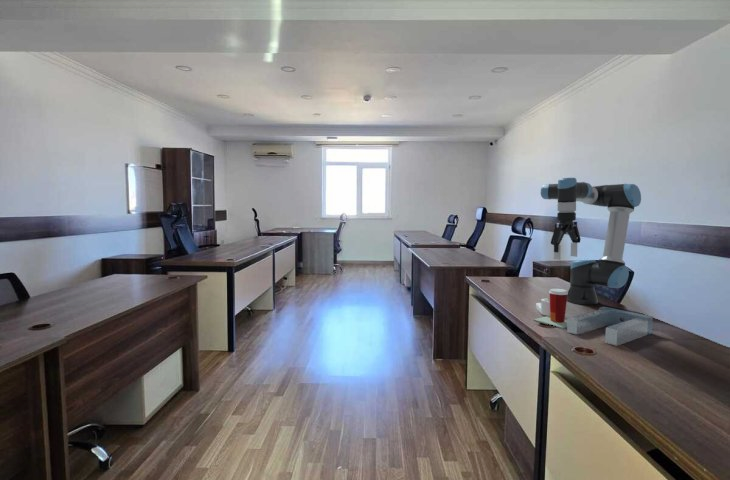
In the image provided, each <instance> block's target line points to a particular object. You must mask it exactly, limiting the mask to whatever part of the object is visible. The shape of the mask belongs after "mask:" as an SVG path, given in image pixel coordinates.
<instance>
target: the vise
mask: <svg viewBox="0 0 730 480" xmlns="http://www.w3.org/2000/svg"><path fill="white" fill-rule="evenodd" d="M566 319H567V328H566V333H569V334H573V335H576V336H577V335H581V334H585V333H588V332H591V331H593V330H597V329H602V328H604V327H605V338H604V339H605V341H604V342H605V344H609V345H610V346H611V345H612V346H615V347H618V346H621V345H622V344H627V343H629V342H631V341H634V340H637V339H640V338H643V337H645V336H648V335H651V334H652V333H653V319H654V317H653V316H652V315H646V314H641V313H638V312H637V313H636V312H632V311H627V310H622V309H617V308H612V307H607V306H601V307H598V309H597V310H594V311H590V312H585V313H581V314H578V315H573V316H569V317H567V318H566ZM606 326H607V327H606Z"/></svg>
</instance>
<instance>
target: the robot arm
mask: <svg viewBox="0 0 730 480" xmlns="http://www.w3.org/2000/svg"><path fill="white" fill-rule="evenodd" d="M540 196H541V198H542V199H543V200H557V205H556V207H557V215H556V216H557V218H556V220H557V221H559V222H555V224H554V230H553V233H552V236H551V240H550V244H551V246H552V245H553V259H554V260H561V257H562V256H561V251H562V250H561V249H562V248H561V247H562V246H561V242H562V240H563V238H564V236H565V234H566V233H567V234H568V236H569V239H570V241H571V242H570V257H574V258H575V257H578V244H579V243H581V236H580V232H579V231H580V230H579V227H578V222H577V221H576V219H577V217H576V215H577V213H576V211H577V202H580V203H581V202H582V203H583V204H584V205H590V206H592V205H593V206H597V207H605V208H607V210H608V211H609V217H608V222H607V230H606V235H605V241H604V247H603V253H602V257H601V258H599V259H598V261H596V259H579V260H577V259H576V260H572V261H571V263H570V268H569V269H570V280H569V283H570V284H569V289H568V290H567V293H568V294H567V302H568V303H571V304H572V303H573V304H578V305H587V306H588V305H590V306H591V305H597V304H598V303H599V302H598V297H597V292H596V289H595V286H601V287H604V288H605V287H606V288H610V289H611V288H612V289H613V288H614V289H620V288H622V287H623V286H625V285H626V283H627V281H628V279H629V277H630V272H629V267H628V266H626V262H625V261H624V260H623V258H624V251H625V245H626V244H625V243H626V239H627V232H628V226H629V219H630V215H631V213H634V211H635V208H637V207H639V206H640V204H641V202H642V194H641V190H640V188H639V187H638V185H636V184H634V183H621V184H619V183H617V184H604V185H596V186H595V185H594V186H592V185H591V184H590V183H589V182H585V181H582V182H577V178H576V177H560V178H558V181H557V183H548V184H543V185H542V187H541V188H540Z"/></svg>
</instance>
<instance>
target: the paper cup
mask: <svg viewBox="0 0 730 480" xmlns="http://www.w3.org/2000/svg"><path fill="white" fill-rule="evenodd" d="M548 293H549V301H550V320H551V321H553V322H558V323H562V322H564V320H565V318H566V309H567V302H568V301H567V294H568V290H566V289H563V288H551V289H549V291H548Z"/></svg>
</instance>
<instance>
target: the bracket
mask: <svg viewBox="0 0 730 480" xmlns="http://www.w3.org/2000/svg"><path fill="white" fill-rule="evenodd" d="M535 308H536V310H537V311H538V312H539V313H540V314H541V315H542V316H545V317H546V316H550V300H549V299H548V298H541V299H540V302H536V303H535Z"/></svg>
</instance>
